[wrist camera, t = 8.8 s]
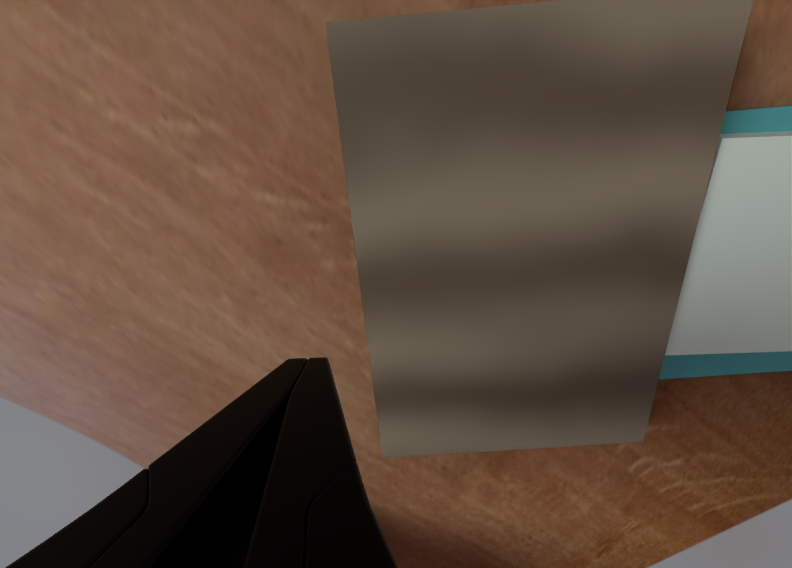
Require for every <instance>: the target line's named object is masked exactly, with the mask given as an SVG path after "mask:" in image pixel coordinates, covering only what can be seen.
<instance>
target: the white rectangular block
mask: <svg viewBox="0 0 792 568" xmlns="http://www.w3.org/2000/svg"><path fill="white" fill-rule="evenodd" d="M783 351H792V131H784V132H760V133H736V134H720V136H719V140H718V144H717V148H716V152H715V156H714V160H713V164H712V168H711V172H710V176H709V180H708V184H707V188H706V192H705V196H704V200H703V204H702V208H701V212H700V216H699V220H698V224H697V228H696V232H695V236H694V240H693V244H692V248H691V252H690V256H689V261H688V265H687V269H686V273H685V277H684V281H683V285H682V289H681V293H680V297H679V301H678V305H677V309H676V313H675V317H674V321H673V325H672V329H671V333H670V337H669V341H668V345H667V349H666V353H665V355H694V354H724V353H753V352H783Z"/></svg>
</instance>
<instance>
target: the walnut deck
mask: <svg viewBox="0 0 792 568" xmlns="http://www.w3.org/2000/svg"><path fill="white" fill-rule="evenodd" d="M752 4H753V0H557V1H546V2H536V3H526V4H515V5H505V6H495V7H484V8H474V9H464V10H453V11H443V12H433V13H422V14H412V15H402V16H391V17H381V18H371V19H360V20H350V21H339V22H329V23H326V30H327V38H328V46H329V53H330V61H331V68H332V76H333V84H334V91H335V99H336V106H337V114H338V121H339V129H340V137H341V144H342V152H343V159H344V167H345V175H346V182H347V190H348V197H349V205H350V213H351V220H352V228H353V235H354V243H355V251H356V258H357V266H358V273H359V281H360V288H361V296H362V304H363V311H364V319H365V326H366V334H367V342H368V349H369V357H370V364H371V372H372V380H373V387H374V395H375V402H376V410H377V418H378V425H379V433H380V440H381V448H382V455H383V458H390V457H406V456H422V455H439V454H455V453H471V452H487V451H504V450H520V449H536V448H552V447H568V446H585V445H601V444H617V443H633V442H643V441H644V437H645V433H646V429H647V425H648V421H649V417H650V413H651V409H652V405H653V401H654V397H655V393H656V389H657V385H658V381H659V377H660V373H661V369H662V365H663V361H664V357H665V353H666V349H667V345H668V341H669V337H670V333H671V329H672V325H673V321H674V317H675V313H676V309H677V305H678V301H679V297H680V293H681V289H682V285H683V281H684V277H685V273H686V269H687V265H688V261H689V256H690V252H691V248H692V244H693V240H694V236H695V232H696V228H697V224H698V220H699V216H700V212H701V208H702V204H703V200H704V196H705V192H706V188H707V184H708V180H709V176H710V172H711V168H712V164H713V160H714V156H715V152H716V148H717V144H718V140H719V136H720V132H721V128H722V124H723V120H724V116H725V112H726V108H727V104H728V100H729V96H730V92H731V88H732V84H733V80H734V76H735V72H736V68H737V64H738V60H739V56H740V52H741V48H742V44H743V40H744V36H745V32H746V28H747V24H748V20H749V16H750V12H751V8H752Z"/></svg>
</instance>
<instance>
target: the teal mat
mask: <svg viewBox="0 0 792 568" xmlns="http://www.w3.org/2000/svg"><path fill="white" fill-rule="evenodd" d="M784 131H792V105H789V106H778V107H766V108H755V109H743V110H732V111H726V112H725V116H724V120H723V124H722V128H721V132H720V134H736V133H760V132H784ZM779 371H792V351H783V352H753V353H724V354H694V355H665V357H664V361H663V365H662V369H661V373H660V377H659V379H673V378H688V377H703V376H718V375H733V374H749V373H764V372H779Z"/></svg>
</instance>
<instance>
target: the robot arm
mask: <svg viewBox="0 0 792 568" xmlns="http://www.w3.org/2000/svg"><path fill="white" fill-rule="evenodd" d="M6 568H398V567H397V565H396V563H395V561H394V559H393V557H392V554H391V552H390V550H389V548H388V546H387V544H386V542H385V539H384V537H383V535H382V533H381V530H380V528H379V526H378V523H377V521H376V519H375V516H374V514H373V511H372V509H371V507H370V504H369V501H368V498H367V495H366V492H365V488H364V485H363V482H362V479H361V475H360V472H359V468H358V465H357V463H356V458H355V454H354V451H353V447H352V444H351V440H350V436H349V433H348V429H347V426H346V422H345V418H344V415H343V411H342V408H341V404H340V400H339V397H338V393H337V390H336V386H335V382H334V379H333V375H332V371H331V368H330V364H329V361H328V359H327V358H325V357H324V358H310V359H308V360H307V359H306V358H297V359H288V360H286V361H285V362H284V363H282V364H281V365H280V366H278V367H277V368H276V369H274V370H273V371H272V372H271V373H269V374H268V375H267V376H265V377H264V378H263V379H261V380H260V381H259V382H257V383H256V384H255V385H254V386H252V387H251V388H250V389H248V390H247V391H246V392H244V393H243V394H242V395H240V396H239V397H238V398H237V399H235V400H234V401H233V402H231V403H230V404H229V405H227V406H226V407H225V408H223V409H222V410H221V411H220V412H218V413H217V414H216V415H214V416H213V417H212V418H210V419H209V420H208V421H206V422H205V423H204V424H203V425H201V426H200V427H199V428H197V429H196V430H195V431H193V432H192V433H191V434H189V435H188V436H187V437H186V438H184V439H183V440H182V441H180V442H179V443H178V444H176V445H175V446H174V447H172V448H171V449H170V450H168V451H167V452H166V453H165V454H163V455H162V456H161V457H159V458H158V459H157V460H155V461H154V462H153V463H151V464H150V465H149V467H148V469H143V470H142V471H141V472H140V473H138V474H137V475H136V476H134V477H133V478H132V479H130V480H129V481H128V482H126V483H125V484H124V485H123V486H121V487H120V488H118V489H117V490H116V491H114V492H113V493H112V494H110V495H109V496H108V497H106V498H105V499H104V500H102V501H101V502H99V503H98V504H97V505H96V506H94V507H93V508H91V509H90V510H89V511H87V512H86V513H84V514H83V515H82V516H80V517H79V518H77V519H76V520H74V521H73V522H71V523H70V524H69V525H67V526H66V527H64V528H63V529H61V530H60V531H59V532H57V533H56V534H54V535H53V536H51V537H50V538H48V539H47V540H46V541H44V542H43V543H41V544H40V545H38V546H37V547H35V548H34V549H32V550H31V551H29V552H28V553H26V554H25V555H24V556H22V557H20V558H19V559H18V560H16V561H15V562H13V563H12V564H10V565H9V566H7V567H6Z"/></svg>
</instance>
